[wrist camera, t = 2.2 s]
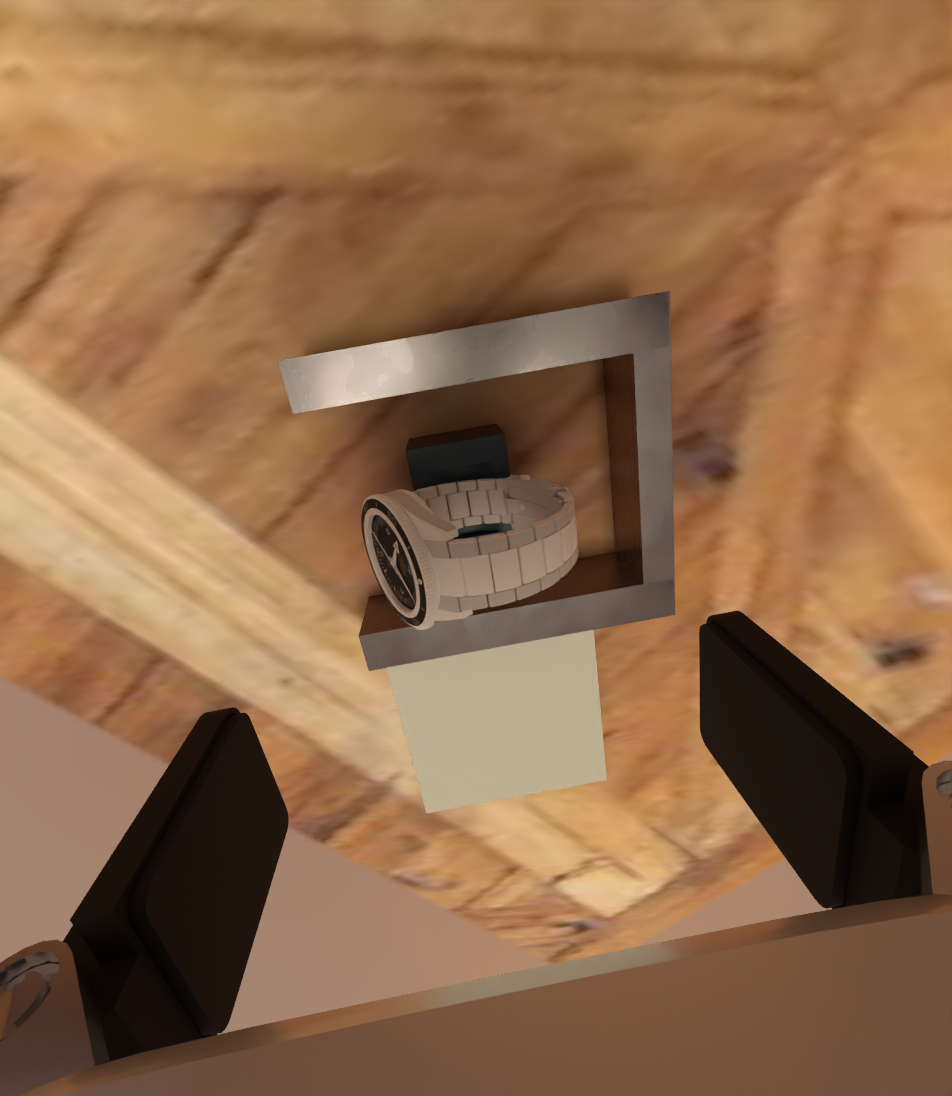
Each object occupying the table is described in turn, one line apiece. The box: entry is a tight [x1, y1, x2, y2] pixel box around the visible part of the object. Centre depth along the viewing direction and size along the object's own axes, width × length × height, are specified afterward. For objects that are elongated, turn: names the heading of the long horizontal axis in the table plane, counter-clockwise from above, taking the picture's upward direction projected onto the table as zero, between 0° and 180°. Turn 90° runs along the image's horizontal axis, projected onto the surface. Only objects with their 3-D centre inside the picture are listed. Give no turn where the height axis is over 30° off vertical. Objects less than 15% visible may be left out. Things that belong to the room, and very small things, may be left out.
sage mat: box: [386, 630, 607, 813], centre depth 31 cm, size 12×12×1 cm
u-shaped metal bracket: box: [278, 291, 675, 671], centre depth 24 cm, size 14×15×4 cm
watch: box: [361, 424, 578, 630], centre depth 21 cm, size 6×8×11 cm
